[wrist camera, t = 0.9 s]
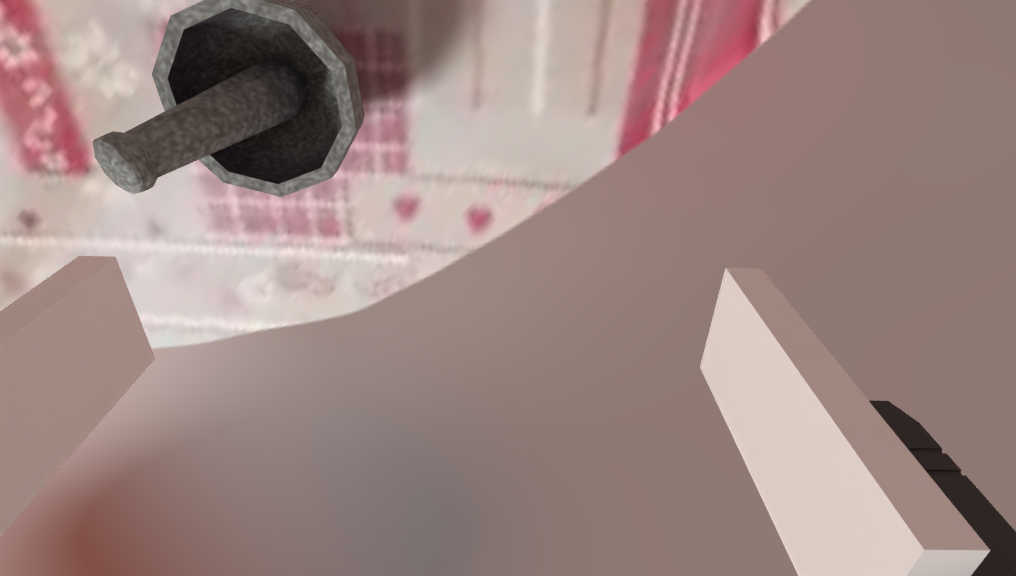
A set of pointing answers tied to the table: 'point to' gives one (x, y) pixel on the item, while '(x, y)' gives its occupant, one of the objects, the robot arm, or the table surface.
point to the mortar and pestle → (244, 100)
